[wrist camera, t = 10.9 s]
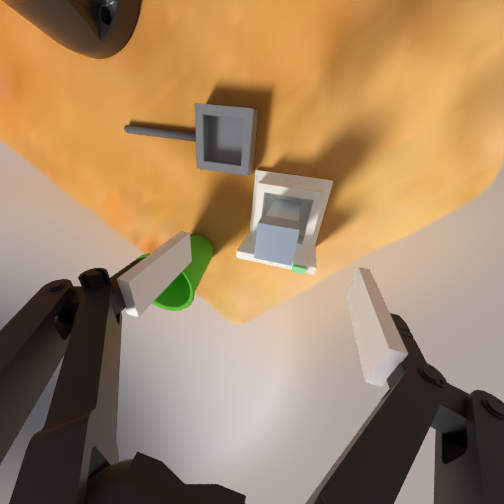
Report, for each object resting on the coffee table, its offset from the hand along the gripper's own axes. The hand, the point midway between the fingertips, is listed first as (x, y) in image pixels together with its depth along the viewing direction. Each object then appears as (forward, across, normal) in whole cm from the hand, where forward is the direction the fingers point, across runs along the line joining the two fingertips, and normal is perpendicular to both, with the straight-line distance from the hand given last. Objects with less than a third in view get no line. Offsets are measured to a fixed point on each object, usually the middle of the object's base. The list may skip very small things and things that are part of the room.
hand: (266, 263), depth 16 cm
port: (+15, 0, -1) cm, 15 cm away
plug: (+15, 0, -1) cm, 15 cm away
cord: (+16, -18, +7) cm, 25 cm away
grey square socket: (+16, -9, +7) cm, 19 cm away
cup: (+15, -13, -10) cm, 23 cm away
